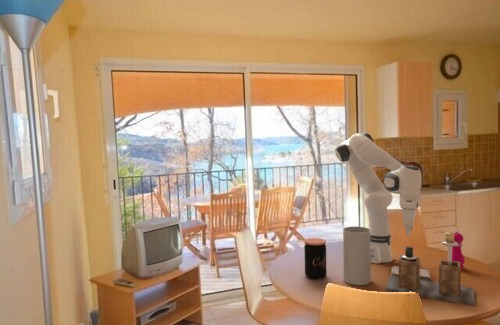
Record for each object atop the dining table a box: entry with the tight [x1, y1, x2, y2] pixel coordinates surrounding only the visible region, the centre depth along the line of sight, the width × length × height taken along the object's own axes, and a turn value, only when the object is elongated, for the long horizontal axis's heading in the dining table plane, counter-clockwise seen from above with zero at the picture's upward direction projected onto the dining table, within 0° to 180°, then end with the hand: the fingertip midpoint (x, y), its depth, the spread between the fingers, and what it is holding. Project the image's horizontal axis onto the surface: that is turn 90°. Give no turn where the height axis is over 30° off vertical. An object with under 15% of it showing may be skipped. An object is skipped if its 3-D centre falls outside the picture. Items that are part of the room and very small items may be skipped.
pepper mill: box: [452, 229, 466, 271], centre depth 189 cm, size 7×7×20 cm
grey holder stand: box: [385, 254, 476, 307], centre depth 162 cm, size 34×16×14 cm, turn 61°
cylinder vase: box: [342, 225, 372, 286], centre depth 175 cm, size 12×12×25 cm
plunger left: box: [401, 246, 418, 261], centre depth 165 cm, size 6×6×15 cm
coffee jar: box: [303, 237, 328, 280], centre depth 184 cm, size 11×11×18 cm
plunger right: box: [441, 231, 458, 266], centre depth 157 cm, size 6×6×15 cm
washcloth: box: [390, 265, 432, 282], centre depth 181 cm, size 12×18×3 cm, turn 68°
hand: (409, 232), depth 165 cm, fingers open, 8 cm apart
